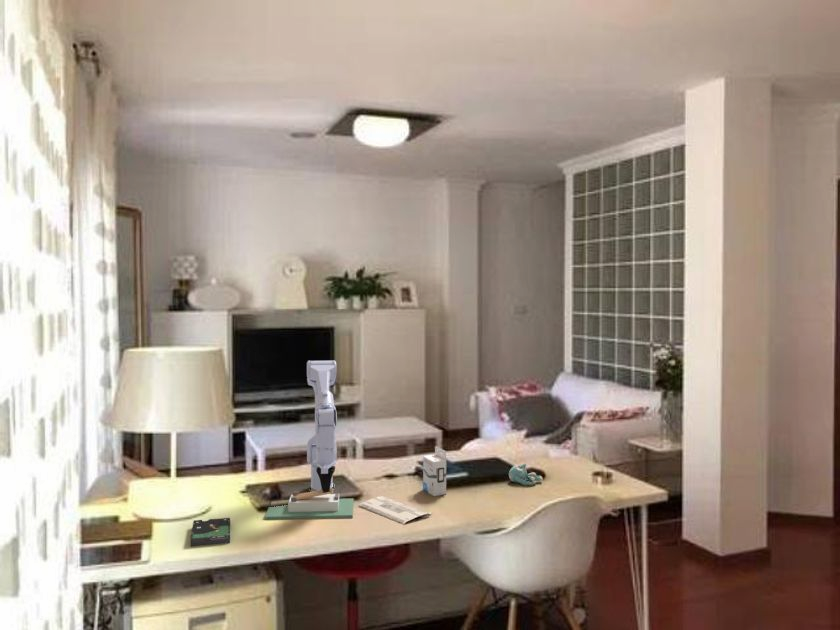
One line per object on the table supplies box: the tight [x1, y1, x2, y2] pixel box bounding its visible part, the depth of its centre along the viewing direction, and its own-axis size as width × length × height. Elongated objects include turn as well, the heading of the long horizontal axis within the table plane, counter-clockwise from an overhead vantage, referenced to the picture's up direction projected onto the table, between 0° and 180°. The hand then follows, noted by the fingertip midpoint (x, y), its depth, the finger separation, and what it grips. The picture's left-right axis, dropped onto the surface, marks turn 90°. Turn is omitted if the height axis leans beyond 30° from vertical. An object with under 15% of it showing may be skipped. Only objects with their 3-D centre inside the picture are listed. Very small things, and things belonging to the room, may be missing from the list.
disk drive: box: [190, 517, 231, 548], centre depth 191 cm, size 10×3×15 cm
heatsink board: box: [264, 491, 355, 520], centre depth 212 cm, size 16×26×5 cm, turn 94°
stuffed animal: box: [508, 463, 543, 486], centre depth 244 cm, size 11×7×12 cm
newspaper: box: [358, 495, 432, 525], centre depth 213 cm, size 23×12×2 cm, turn 42°
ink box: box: [422, 445, 447, 497], centre depth 231 cm, size 8×5×15 cm, turn 26°
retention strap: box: [294, 488, 335, 500], centre depth 212 cm, size 4×12×1 cm, turn 94°
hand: (325, 490), depth 213 cm, fingers closed, pressing on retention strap
